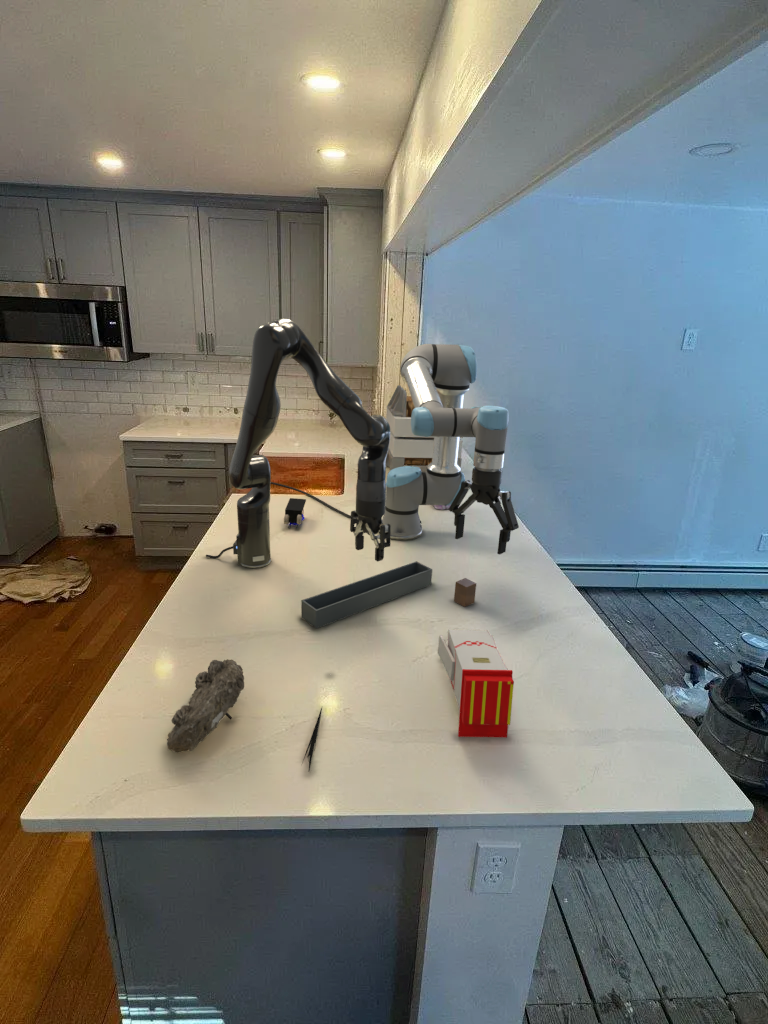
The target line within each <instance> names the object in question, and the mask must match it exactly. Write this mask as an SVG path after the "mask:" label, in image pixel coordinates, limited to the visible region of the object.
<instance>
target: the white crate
mask: <svg viewBox="0 0 768 1024" xmlns="http://www.w3.org/2000/svg"><path fill="white" fill-rule="evenodd" d="M407 394H408V393H407V390H406V389H404V388H403V387H402V385H399V384H398V385H397V386H396V388H395V390H394V392H393V394H392V395H391V398H390V400H389V402H388V404H387V405H386V413H385V414H386V415H385V418H386V420H387V421H388V423H389V425H390V442H389V448H388V453H387V457H386V468H387V467H388V468H389V471H391V470H392V469H394V468H398V467H403V466H412V467H414V466H415V467H427V466H428V465H429V464H430V463H431V462H432V455H433V443H434V437H425V436H416V435H414V434H413V433H412V430H411V415H412V411H413V409H414V408H415V407H414V404H413V401H412V398H411V395H407ZM463 438H464V437H460V438H459V448H458V458H457V465H458V466H459V467H460V468H461V469H462V461H463V460H462V453H463V442H464V441H463V440H462V439H463Z"/></svg>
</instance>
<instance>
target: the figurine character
mask: <svg viewBox="0 0 768 1024" xmlns="http://www.w3.org/2000/svg"><path fill="white" fill-rule="evenodd" d="M306 502H307V499H305V498H294V497H290V498H289V499H288V502H287V504H286V507H285V508H284V518H283V524H284V525H287V528H288V529H291V526H296V528H295V529H299V527H300V525H302V524H303V521H304V520H305V519H306V518H305V515H304V514H305V510H304V508H305V505H306Z"/></svg>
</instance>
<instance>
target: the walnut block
mask: <svg viewBox="0 0 768 1024" xmlns="http://www.w3.org/2000/svg"><path fill="white" fill-rule="evenodd" d="M476 590H477V583H476V582H475V581H473V580H471V579H468V578H467V577H464V578H462V579H459V580H457V581H455V585H454V595H453V602H454V603H456V604H457V605H460V606H462V607H464V608H466V607H468V606H471V605H473V604H475V602H476V601H475V600H476Z"/></svg>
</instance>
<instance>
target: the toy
mask: <svg viewBox="0 0 768 1024" xmlns="http://www.w3.org/2000/svg"><path fill="white" fill-rule="evenodd" d="M446 640H447V643H446V641H445V639H444V636H443V635H442V634H439V637H438V646H437V656H438V657H439V659H440V661H441V663H442V666H443V668H444V670H445V672H446V674H447V677H448V679H449V681H450V684H451V687H452V690H453V693H454V697H455V701H456V705H457V708H458V711H459V714H458V715H459V716H458V730H457V731H458V732H457V737H458V738H508V731H509V726H510V725H511V717H512V707H513V697H514V696H513V695H514V684H515V680H514V679H513V673H514V671H513V670H512V669H508V667H507V665H506V662H505V661H504V659H503V658H502V655H501V653H500V651H499V649H498V647H497V643H496V639H495V637H494V635H493V634H491V632H490V631H489V629H467V628H466V629H465V628H463V629H461V628H460V629H459V628H448V630H447V639H446Z"/></svg>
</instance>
